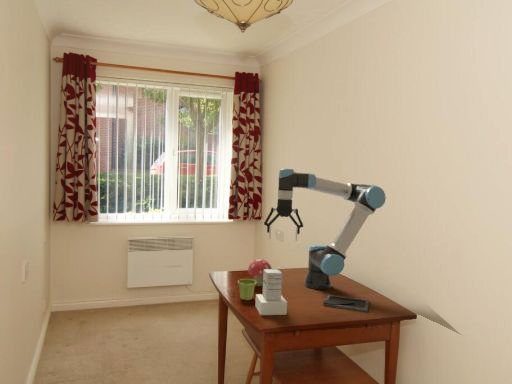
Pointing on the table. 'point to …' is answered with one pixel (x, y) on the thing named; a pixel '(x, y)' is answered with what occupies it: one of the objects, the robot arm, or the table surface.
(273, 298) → the supplement box
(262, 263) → the decorative mushroom
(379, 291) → the table surface
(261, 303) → the plinth
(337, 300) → the picture frame
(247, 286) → the plant pot
